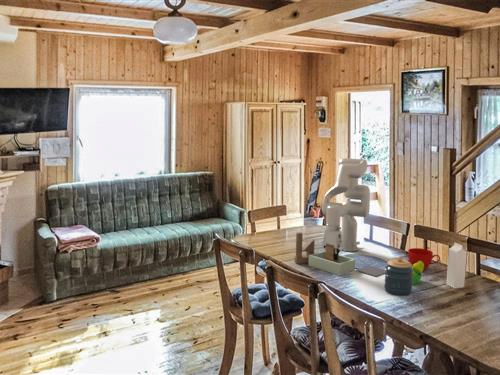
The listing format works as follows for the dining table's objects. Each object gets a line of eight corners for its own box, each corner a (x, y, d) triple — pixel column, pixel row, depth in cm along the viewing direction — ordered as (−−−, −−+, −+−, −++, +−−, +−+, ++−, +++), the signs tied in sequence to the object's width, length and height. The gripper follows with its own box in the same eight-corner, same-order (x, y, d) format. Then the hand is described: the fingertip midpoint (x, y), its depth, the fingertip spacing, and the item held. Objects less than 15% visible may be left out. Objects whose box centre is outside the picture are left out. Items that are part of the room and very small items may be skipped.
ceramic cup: (439, 274, 249) (440, 256, 248) (406, 270, 255) (408, 253, 253) (438, 267, 261) (439, 250, 260) (407, 263, 267) (408, 247, 266)
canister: (408, 298, 215) (410, 262, 212) (380, 292, 222) (382, 257, 219) (414, 290, 226) (416, 255, 223) (388, 284, 233) (390, 251, 230)
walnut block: (330, 262, 262) (331, 242, 261) (337, 264, 259) (338, 243, 257) (325, 264, 259) (326, 243, 257) (332, 266, 256) (333, 245, 254)
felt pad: (369, 266, 262) (369, 265, 262) (389, 271, 252) (389, 270, 252) (355, 271, 253) (355, 269, 253) (375, 277, 244) (376, 276, 244)
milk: (456, 283, 235) (459, 241, 232) (464, 287, 230) (467, 245, 226) (445, 284, 234) (449, 242, 231) (453, 288, 228) (457, 245, 225)
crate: (323, 260, 272) (324, 250, 271) (354, 269, 255) (355, 259, 254) (308, 265, 262) (308, 255, 261) (339, 275, 246) (339, 264, 245)
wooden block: (313, 262, 267) (314, 232, 264) (296, 264, 264) (297, 233, 262) (311, 261, 270) (312, 231, 268) (294, 262, 268) (295, 232, 265)
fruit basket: (404, 277, 244) (405, 256, 243) (422, 278, 242) (423, 258, 240) (405, 284, 234) (406, 263, 232) (423, 286, 231) (425, 264, 229)
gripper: (349, 229, 252) (348, 261, 255) (325, 223, 264) (324, 253, 267) (341, 231, 247) (340, 263, 250) (316, 225, 259) (315, 256, 262)
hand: (331, 258), depth 258 cm, fingers closed on walnut block, 5 cm apart
